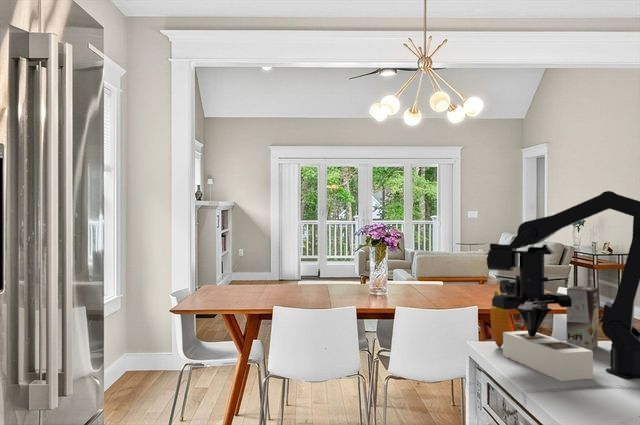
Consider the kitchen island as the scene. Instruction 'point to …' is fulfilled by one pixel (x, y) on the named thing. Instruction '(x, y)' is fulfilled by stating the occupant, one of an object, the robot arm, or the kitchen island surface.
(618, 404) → the kitchen island surface
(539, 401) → the kitchen island surface
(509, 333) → the white peg holder block
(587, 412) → the kitchen island surface
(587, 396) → the kitchen island surface
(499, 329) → the carrot
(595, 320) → the coffee box
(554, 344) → the peg near
